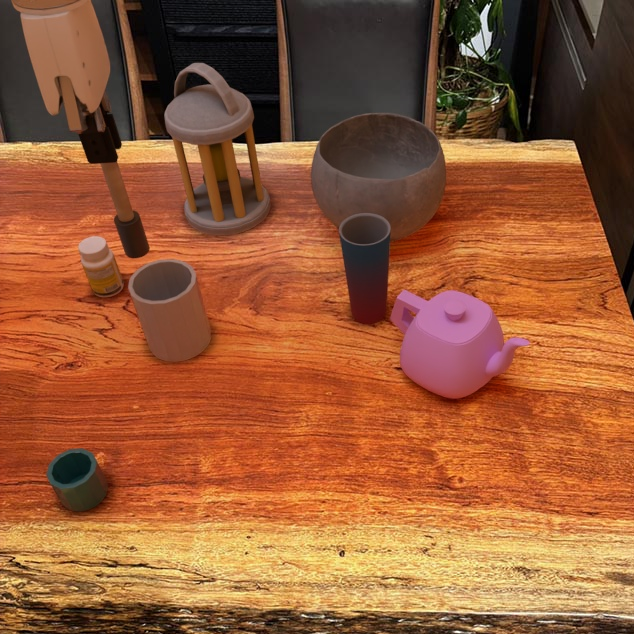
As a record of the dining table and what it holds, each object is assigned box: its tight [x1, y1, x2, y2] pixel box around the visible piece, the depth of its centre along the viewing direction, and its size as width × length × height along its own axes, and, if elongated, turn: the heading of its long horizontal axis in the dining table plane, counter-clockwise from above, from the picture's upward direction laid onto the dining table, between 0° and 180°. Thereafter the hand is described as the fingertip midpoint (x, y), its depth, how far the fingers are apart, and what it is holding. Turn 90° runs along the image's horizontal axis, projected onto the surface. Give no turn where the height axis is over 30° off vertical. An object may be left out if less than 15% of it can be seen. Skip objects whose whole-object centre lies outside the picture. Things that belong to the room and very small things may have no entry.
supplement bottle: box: [77, 235, 125, 298], centre depth 118 cm, size 5×5×8 cm
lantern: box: [164, 62, 271, 236], centre depth 124 cm, size 14×14×25 cm
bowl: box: [310, 112, 447, 243], centre depth 124 cm, size 20×20×15 cm
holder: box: [46, 447, 109, 513], centre depth 95 cm, size 6×6×5 cm
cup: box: [338, 213, 391, 325], centre depth 110 cm, size 7×7×15 cm
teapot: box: [389, 289, 531, 400], centre depth 104 cm, size 13×20×11 cm
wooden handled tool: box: [82, 107, 151, 259], centre depth 91 cm, size 3×3×19 cm
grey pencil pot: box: [127, 258, 212, 363], centre depth 110 cm, size 9×9×11 cm
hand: (105, 154), depth 88 cm, fingers closed on wooden handled tool
